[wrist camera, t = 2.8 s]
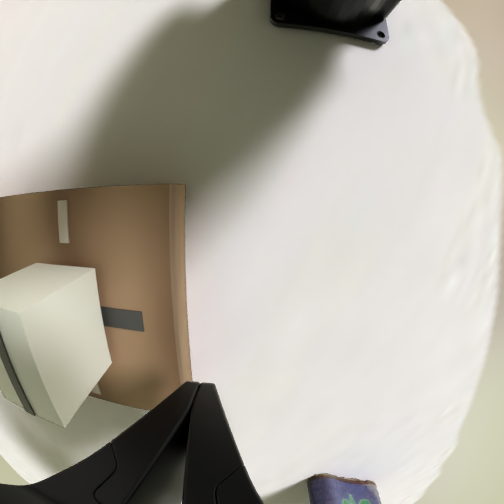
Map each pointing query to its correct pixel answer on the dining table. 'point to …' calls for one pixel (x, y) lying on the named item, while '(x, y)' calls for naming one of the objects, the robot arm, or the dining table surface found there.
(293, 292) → the dining table surface
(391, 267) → the dining table surface
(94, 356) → the fader knob
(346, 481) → the flask
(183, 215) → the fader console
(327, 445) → the dining table surface
